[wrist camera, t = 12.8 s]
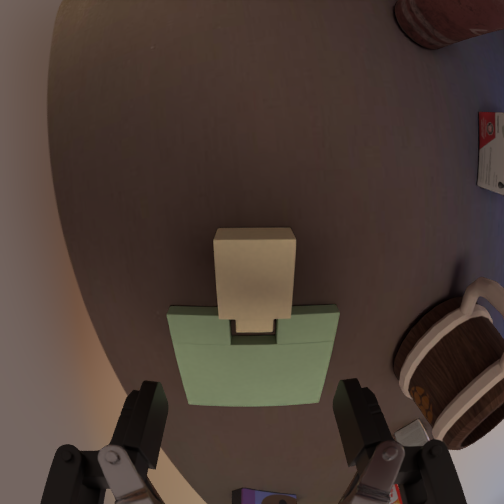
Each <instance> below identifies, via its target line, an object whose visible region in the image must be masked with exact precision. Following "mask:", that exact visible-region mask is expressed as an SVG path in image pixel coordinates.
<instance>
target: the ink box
mask: <svg viewBox="0 0 504 504" xmlns="http://www.w3.org/2000/svg"><path fill="white" fill-rule="evenodd" d="M479 135H480V136H479V139H480V144H479V170H478V182H477V185H478V186H480V187H482V188H485V189H488V190H491V191H494V192H496V193H499V194H502V195H504V113H499V112H479Z"/></svg>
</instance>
